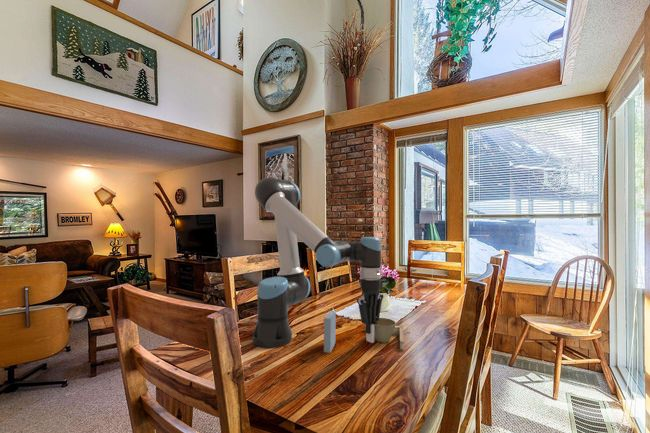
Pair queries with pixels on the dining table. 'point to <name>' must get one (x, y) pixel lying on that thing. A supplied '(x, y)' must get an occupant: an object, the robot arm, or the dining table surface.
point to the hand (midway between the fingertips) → (370, 341)
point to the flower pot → (384, 329)
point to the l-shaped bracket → (400, 332)
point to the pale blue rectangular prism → (329, 331)
